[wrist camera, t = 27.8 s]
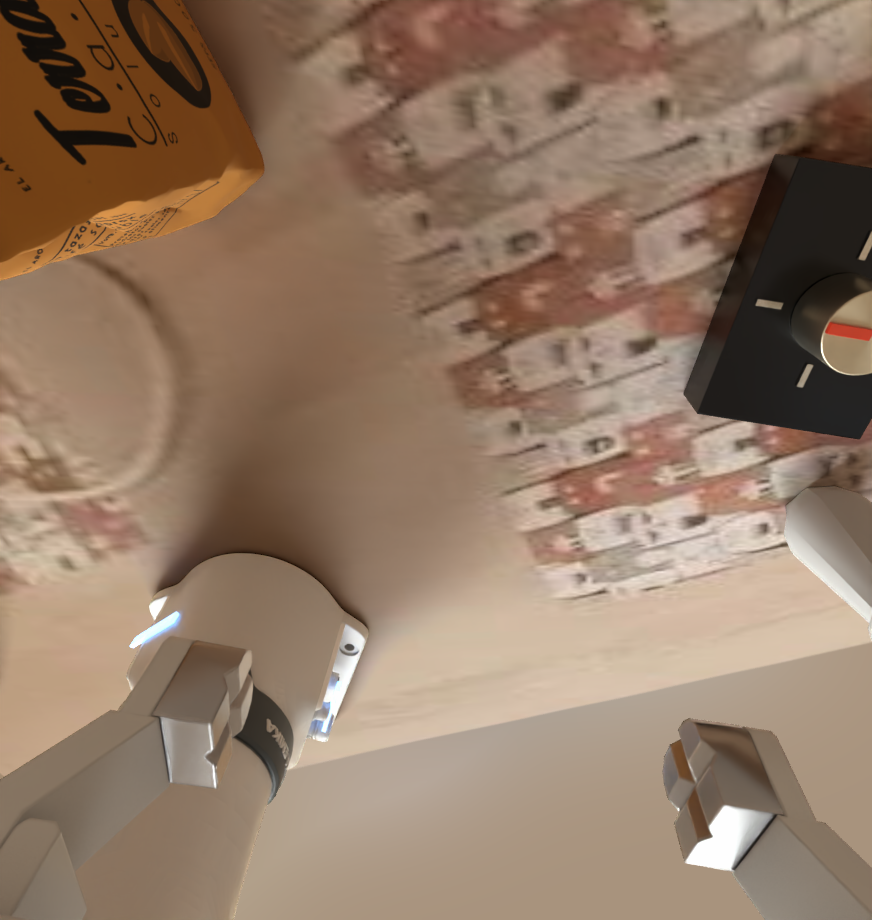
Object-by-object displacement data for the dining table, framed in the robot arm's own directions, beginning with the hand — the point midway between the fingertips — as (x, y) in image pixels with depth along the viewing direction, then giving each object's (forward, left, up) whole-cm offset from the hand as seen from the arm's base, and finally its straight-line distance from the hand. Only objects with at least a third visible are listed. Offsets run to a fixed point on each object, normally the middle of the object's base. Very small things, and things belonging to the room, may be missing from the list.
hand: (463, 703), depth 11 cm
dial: (+3, -19, -26) cm, 32 cm away
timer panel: (+3, -19, -29) cm, 35 cm away
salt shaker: (-11, -26, -29) cm, 41 cm away
